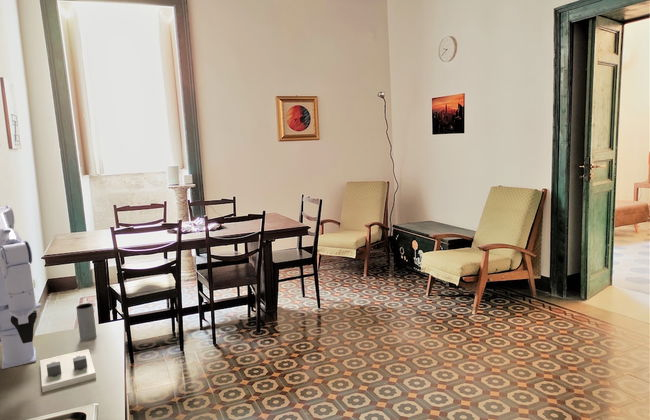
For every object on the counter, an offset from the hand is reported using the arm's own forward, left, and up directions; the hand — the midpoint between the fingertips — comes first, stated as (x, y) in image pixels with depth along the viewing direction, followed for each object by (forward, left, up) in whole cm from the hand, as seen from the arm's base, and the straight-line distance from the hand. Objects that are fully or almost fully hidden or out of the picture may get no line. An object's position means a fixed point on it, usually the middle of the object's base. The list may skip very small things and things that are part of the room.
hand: (27, 341), depth 123 cm
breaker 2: (+4, +11, -9) cm, 14 cm away
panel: (+1, +8, -10) cm, 13 cm away
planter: (-19, +15, -11) cm, 27 cm away
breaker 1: (+4, +5, -9) cm, 11 cm away
